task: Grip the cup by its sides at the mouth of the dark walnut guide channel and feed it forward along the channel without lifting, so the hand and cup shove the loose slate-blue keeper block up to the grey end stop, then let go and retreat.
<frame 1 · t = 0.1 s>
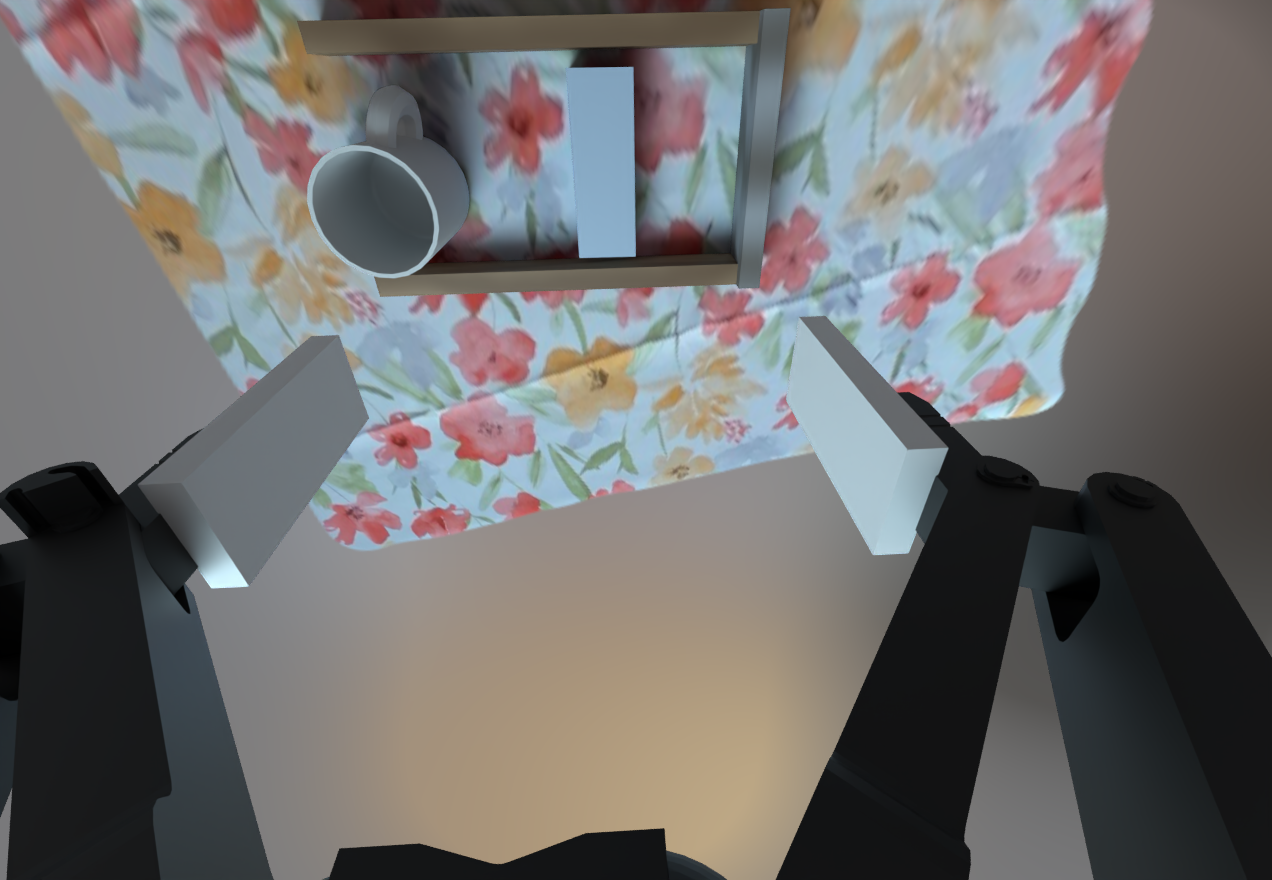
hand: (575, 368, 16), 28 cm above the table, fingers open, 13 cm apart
keeper: (604, 163, 38), on the table
cup: (420, 168, 37), on the table
channel: (561, 164, 37), on the table
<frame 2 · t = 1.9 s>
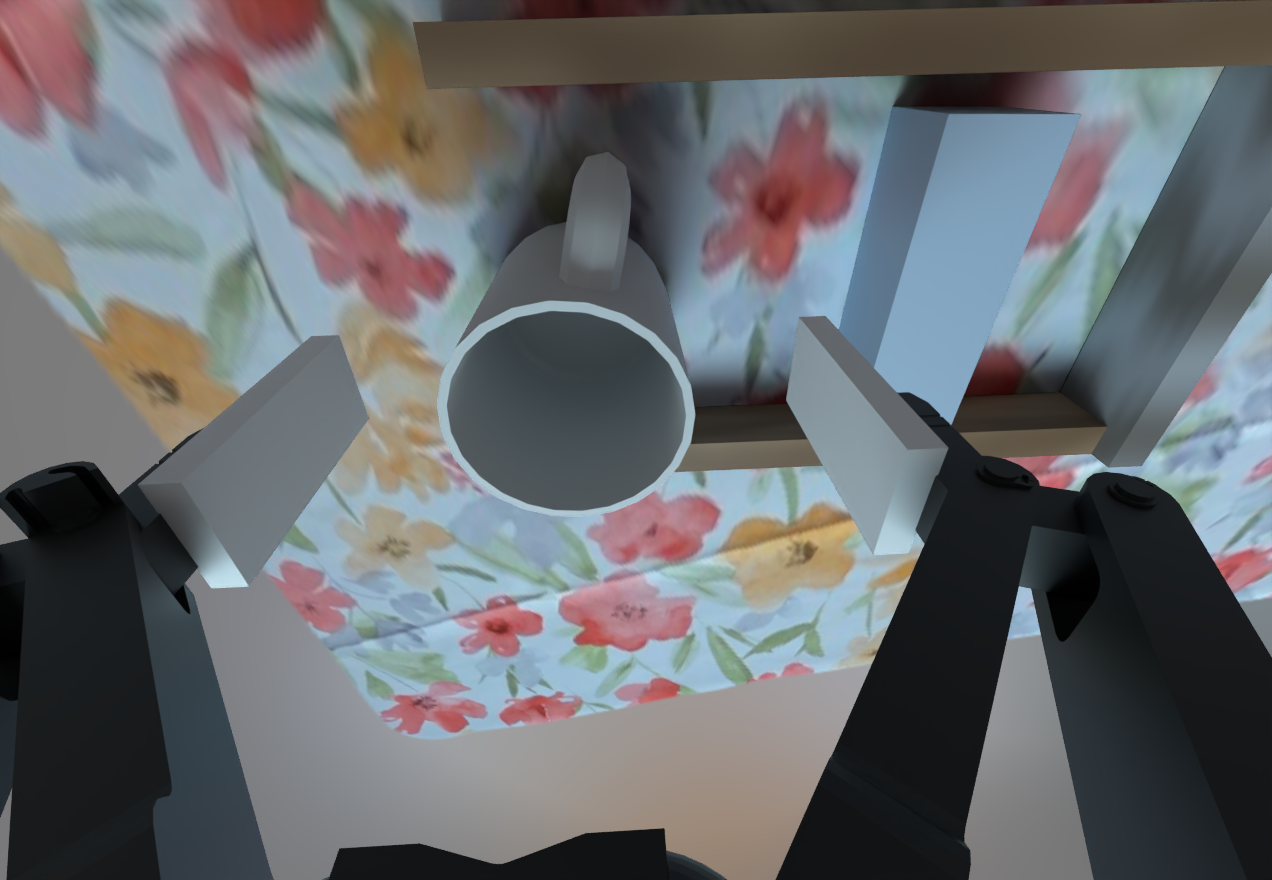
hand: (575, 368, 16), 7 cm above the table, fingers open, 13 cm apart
keeper: (899, 262, 22), on the table
cup: (587, 273, 22), on the table
channel: (830, 267, 22), on the table
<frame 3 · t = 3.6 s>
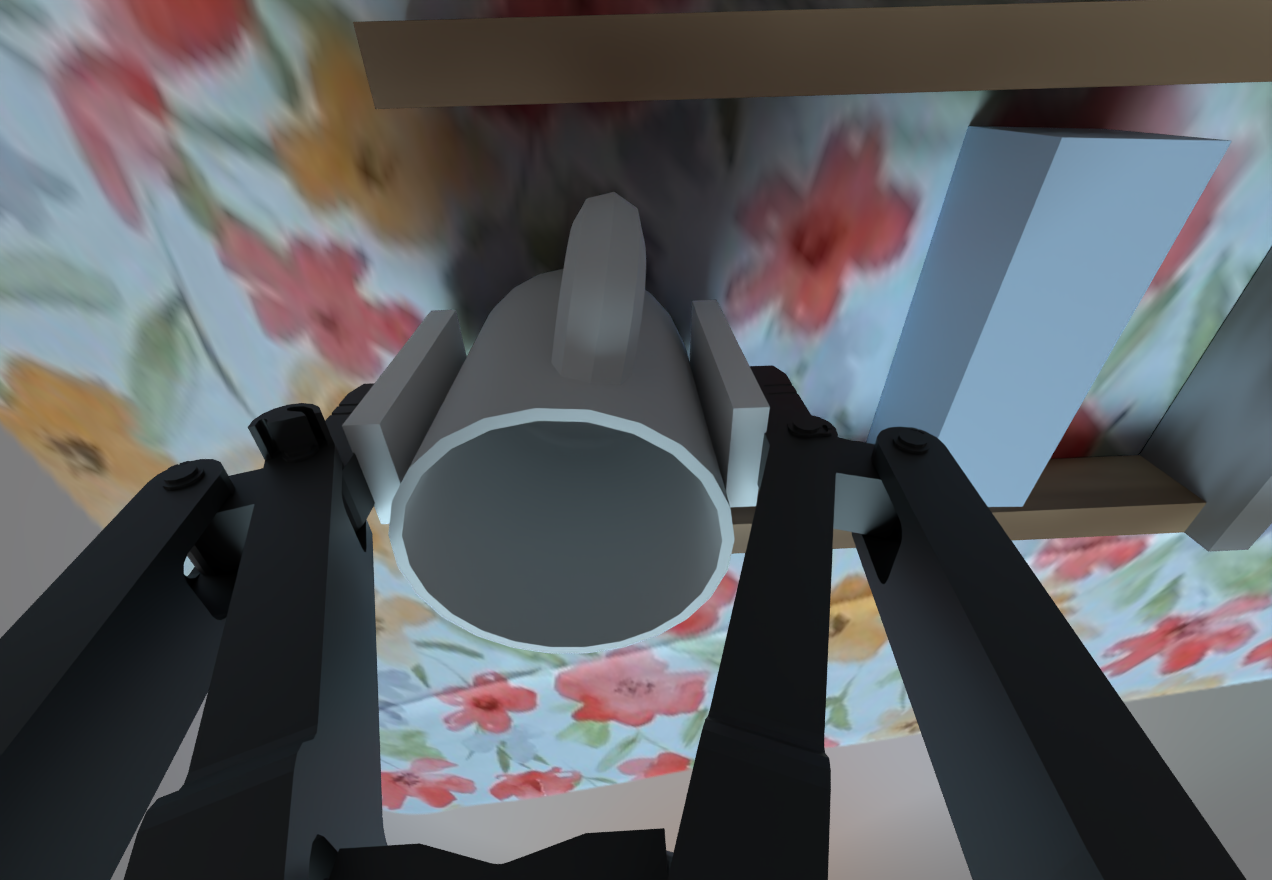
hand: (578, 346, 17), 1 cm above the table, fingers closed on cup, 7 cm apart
keeper: (960, 310, 18), on the table
cup: (589, 327, 18), on the table, touching gripper
channel: (878, 317, 18), on the table
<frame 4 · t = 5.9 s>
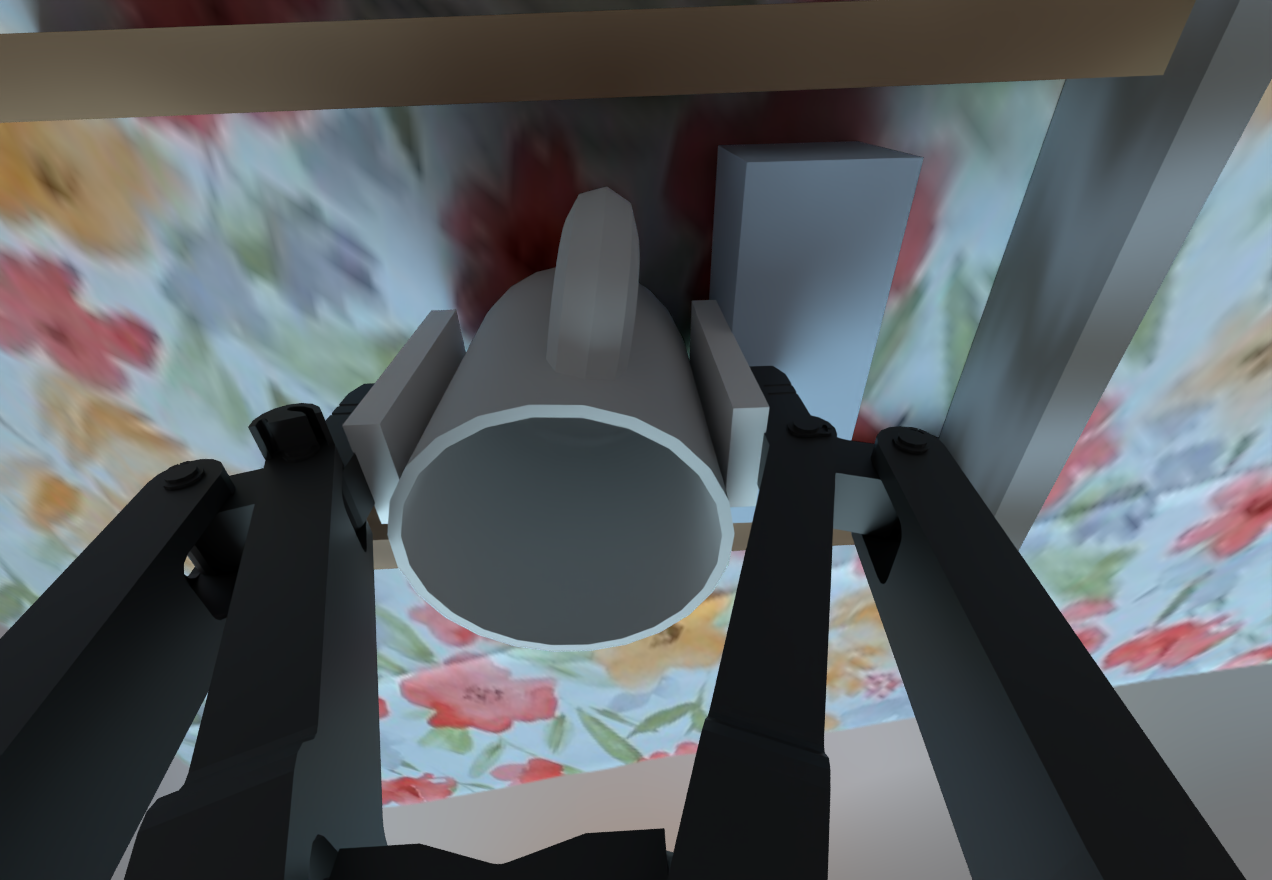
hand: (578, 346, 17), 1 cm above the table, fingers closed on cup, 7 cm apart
keeper: (764, 324, 18), on the table, touching gripper
cup: (587, 324, 18), on the table, touching gripper
channel: (619, 324, 18), on the table
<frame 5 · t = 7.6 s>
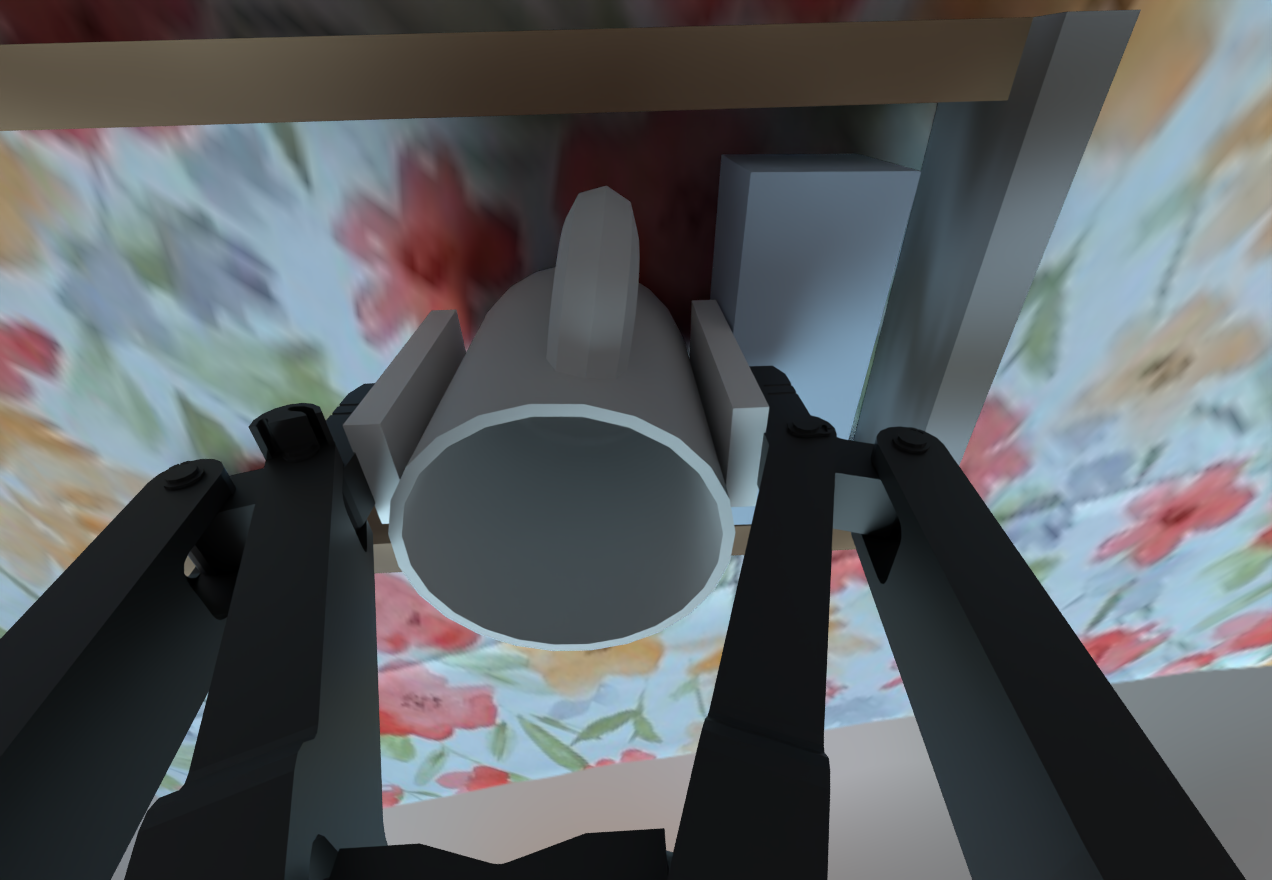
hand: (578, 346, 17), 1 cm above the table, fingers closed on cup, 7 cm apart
keeper: (762, 330, 19), on the table
cup: (587, 323, 18), on the table, touching gripper
channel: (522, 335, 18), on the table
when the fingers open (2 cm above the table, at t = 8.0 s): cup stays where it is, on the table.
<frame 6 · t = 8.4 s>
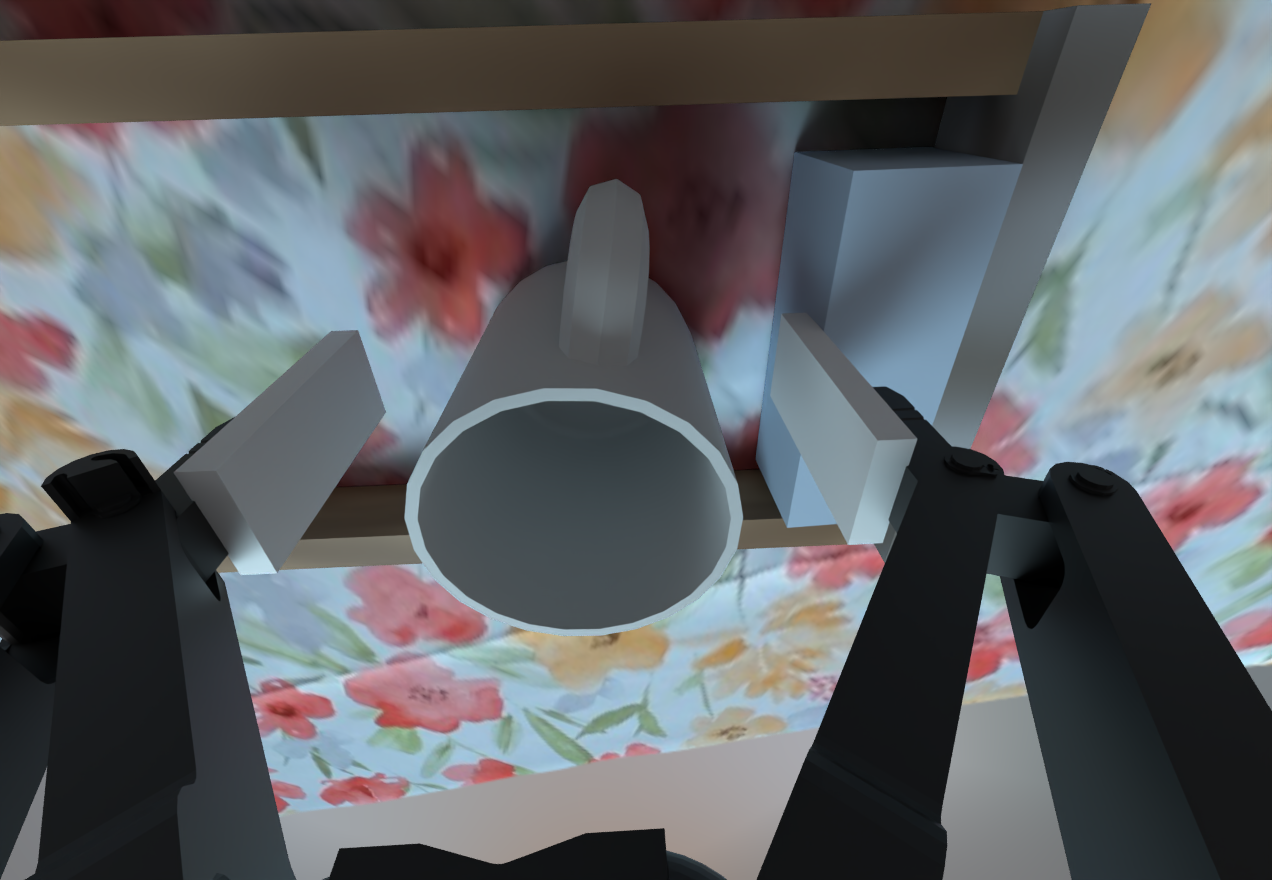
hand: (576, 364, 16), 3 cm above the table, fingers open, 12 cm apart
keeper: (827, 328, 18), on the table, touching channel, gripper
cup: (596, 318, 18), on the table
channel: (531, 329, 18), on the table
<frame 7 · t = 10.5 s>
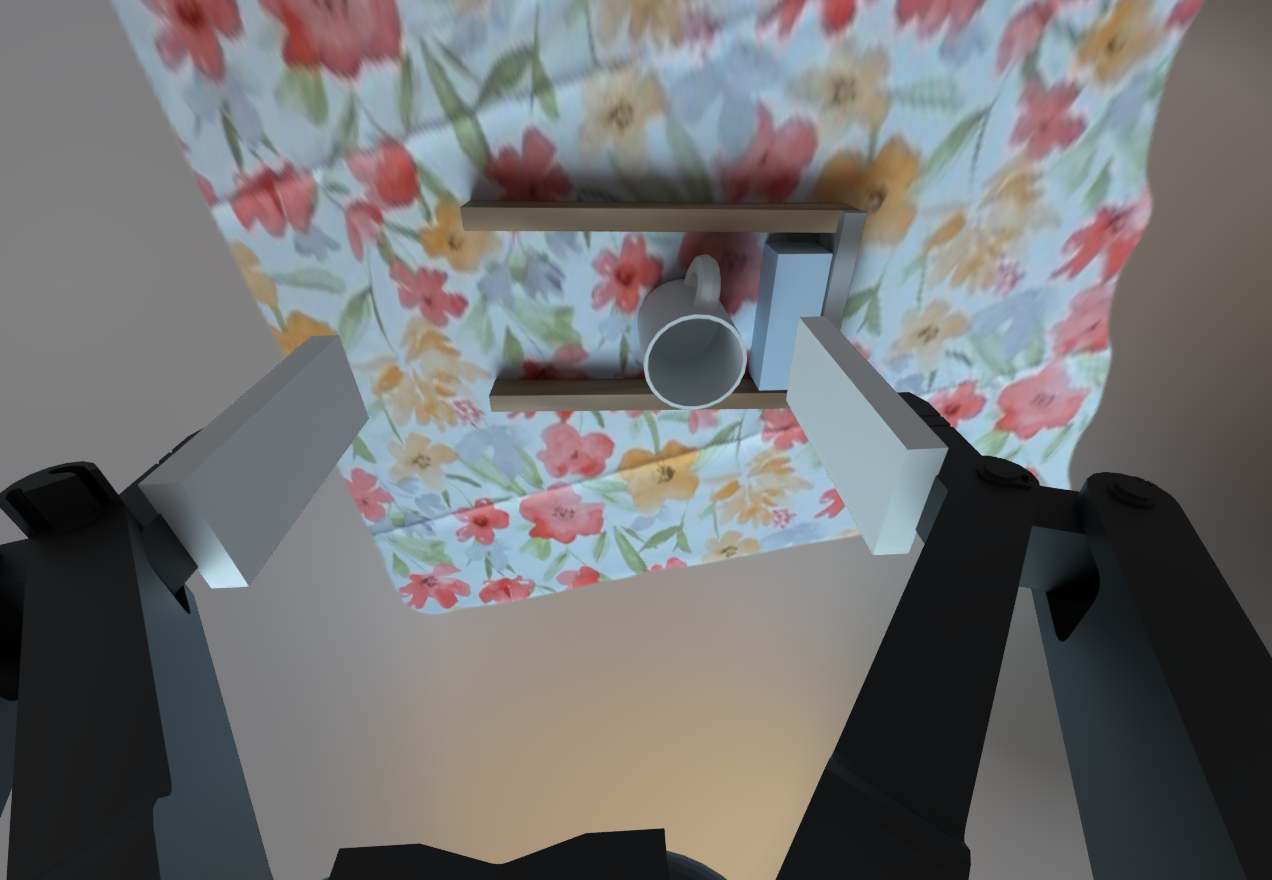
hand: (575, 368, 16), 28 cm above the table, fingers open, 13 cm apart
keeper: (761, 318, 43), point 2 cm above the table, tilted 90°
cup: (683, 303, 44), on the table
channel: (656, 307, 43), on the table
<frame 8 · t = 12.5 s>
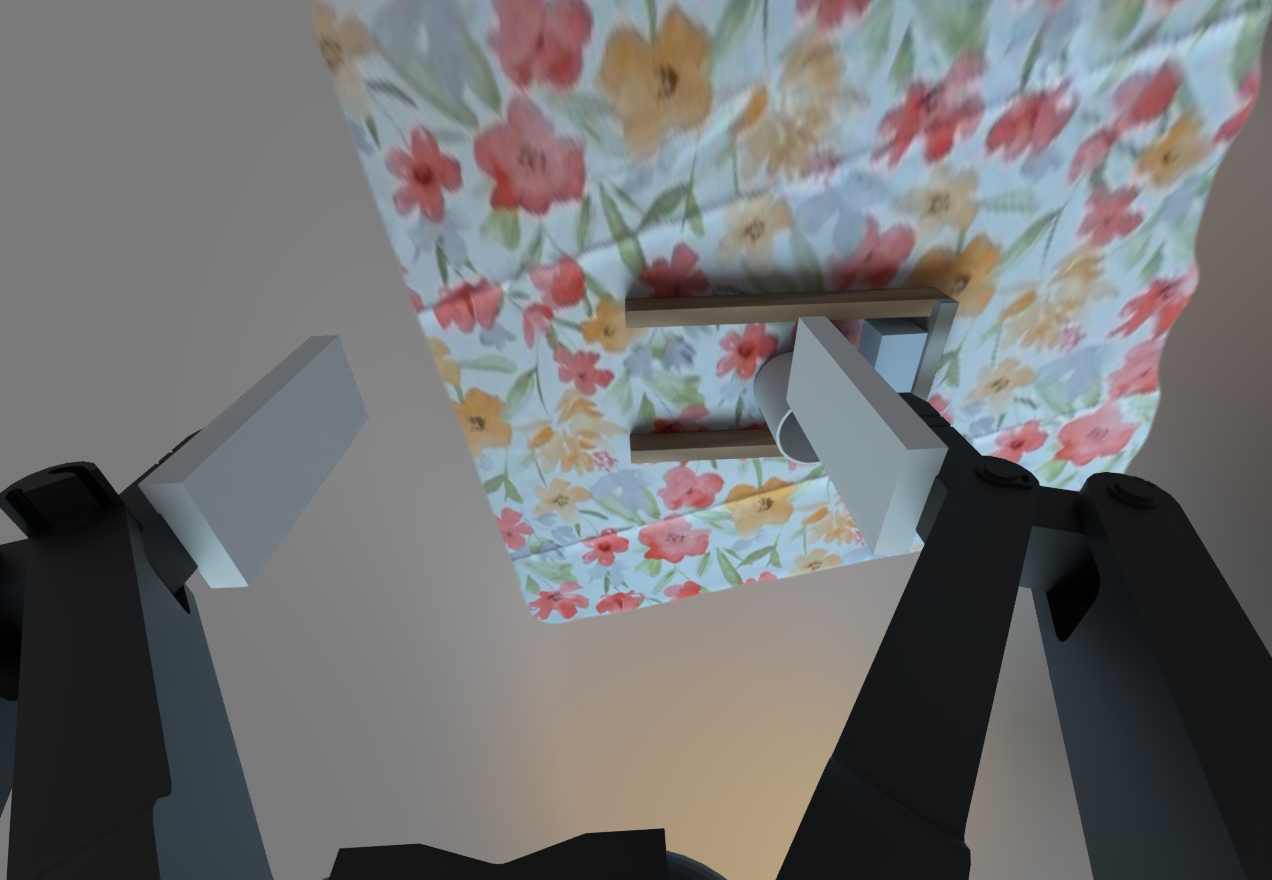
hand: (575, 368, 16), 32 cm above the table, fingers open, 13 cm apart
keeper: (860, 380, 51), point 2 cm above the table, tilted 90°
cup: (792, 369, 52), on the table
channel: (770, 373, 52), on the table
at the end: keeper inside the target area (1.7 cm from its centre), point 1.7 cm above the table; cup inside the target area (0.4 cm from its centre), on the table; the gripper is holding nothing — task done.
